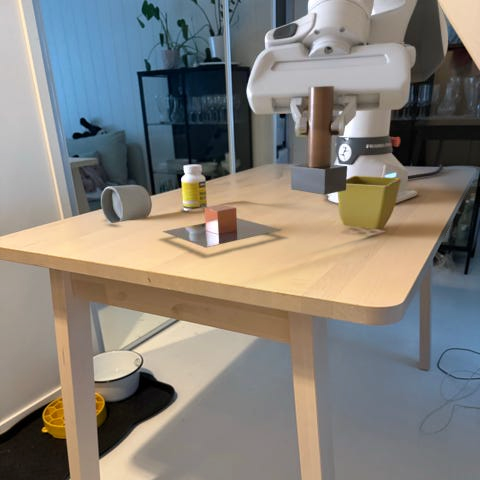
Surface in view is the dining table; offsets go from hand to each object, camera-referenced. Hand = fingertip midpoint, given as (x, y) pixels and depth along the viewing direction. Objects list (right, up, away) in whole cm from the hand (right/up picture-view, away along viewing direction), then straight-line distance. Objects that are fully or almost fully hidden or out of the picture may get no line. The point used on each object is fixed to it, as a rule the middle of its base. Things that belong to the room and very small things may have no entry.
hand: (318, 133), depth 56 cm
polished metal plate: (-13, -8, +26) cm, 30 cm away
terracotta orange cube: (-13, -7, +25) cm, 29 cm away
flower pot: (+13, -7, +27) cm, 31 cm away
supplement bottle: (-20, +2, +49) cm, 53 cm away
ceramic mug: (-34, -2, +41) cm, 53 cm away
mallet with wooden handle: (0, -6, +3) cm, 7 cm away
